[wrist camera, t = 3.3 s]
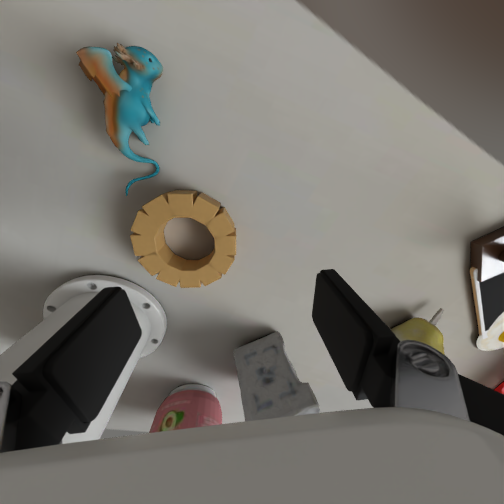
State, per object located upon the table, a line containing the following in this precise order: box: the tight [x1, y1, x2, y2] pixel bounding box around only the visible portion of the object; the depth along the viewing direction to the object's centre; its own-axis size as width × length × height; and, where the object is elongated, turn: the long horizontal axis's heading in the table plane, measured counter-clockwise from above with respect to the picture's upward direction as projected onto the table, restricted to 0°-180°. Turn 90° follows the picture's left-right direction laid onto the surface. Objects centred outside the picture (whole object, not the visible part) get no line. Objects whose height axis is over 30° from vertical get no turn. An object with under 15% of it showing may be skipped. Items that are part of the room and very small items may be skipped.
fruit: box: [391, 308, 444, 354], centre depth 26 cm, size 6×6×10 cm
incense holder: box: [234, 331, 320, 421], centre depth 23 cm, size 10×8×10 cm
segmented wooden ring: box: [130, 190, 236, 288], centre depth 18 cm, size 9×9×2 cm
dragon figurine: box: [76, 43, 163, 196], centre depth 14 cm, size 6×7×8 cm
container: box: [149, 384, 222, 433], centre depth 27 cm, size 10×10×8 cm
